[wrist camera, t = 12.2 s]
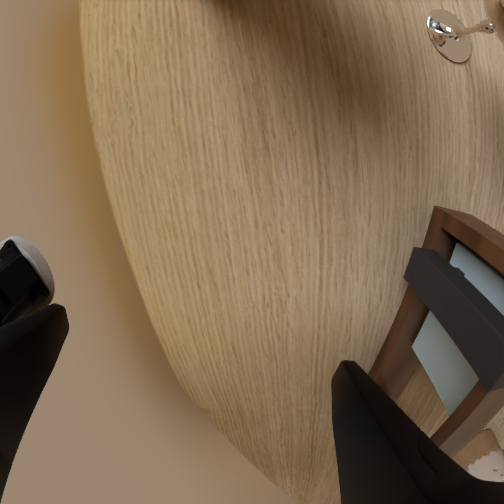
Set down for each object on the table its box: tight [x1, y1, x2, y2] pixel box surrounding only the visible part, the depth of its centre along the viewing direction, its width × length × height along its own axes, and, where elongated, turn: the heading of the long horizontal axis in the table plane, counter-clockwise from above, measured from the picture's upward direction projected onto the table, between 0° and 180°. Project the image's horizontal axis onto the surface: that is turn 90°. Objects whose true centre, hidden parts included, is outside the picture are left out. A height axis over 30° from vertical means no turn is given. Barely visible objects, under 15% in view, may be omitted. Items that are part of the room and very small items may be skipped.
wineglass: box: [427, 0, 504, 63], centre depth 8 cm, size 6×6×12 cm
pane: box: [404, 242, 504, 417], centre depth 15 cm, size 5×10×11 cm, turn 173°
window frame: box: [368, 206, 504, 459], centre depth 18 cm, size 4×22×12 cm, turn 173°
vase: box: [452, 429, 504, 482], centre depth 34 cm, size 15×15×17 cm
